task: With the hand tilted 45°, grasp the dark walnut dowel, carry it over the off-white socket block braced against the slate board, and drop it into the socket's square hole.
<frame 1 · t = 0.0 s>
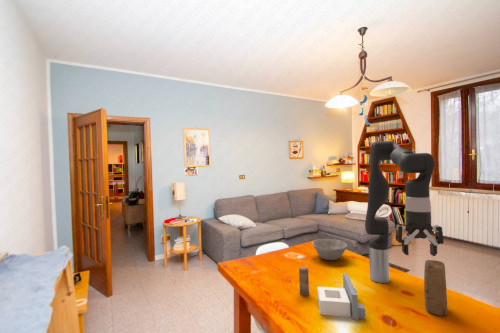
hand: (419, 254, 86), 29 cm above the table, tool pointing down, fingers open, 8 cm apart
block: (436, 310, 102), on the table
socket: (333, 307, 106), on the table
backstop: (350, 305, 107), on the table
ceramic bowl: (329, 258, 162), on the table
dowel: (304, 293, 118), on the table
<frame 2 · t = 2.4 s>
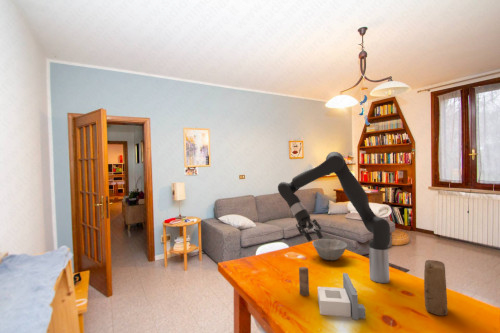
hand: (316, 239, 124), 25 cm above the table, tool tilted 40°, fingers open, 8 cm apart
nothing on the table moved.
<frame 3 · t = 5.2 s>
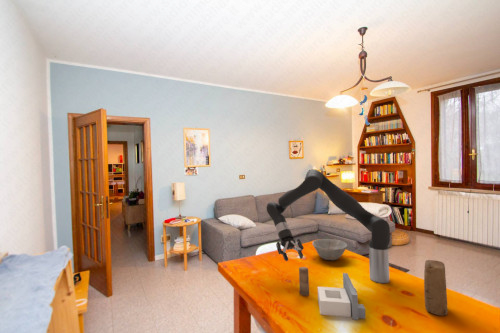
hand: (294, 259, 127), 14 cm above the table, tool tilted 45°, fingers open, 8 cm apart
nothing on the table moved.
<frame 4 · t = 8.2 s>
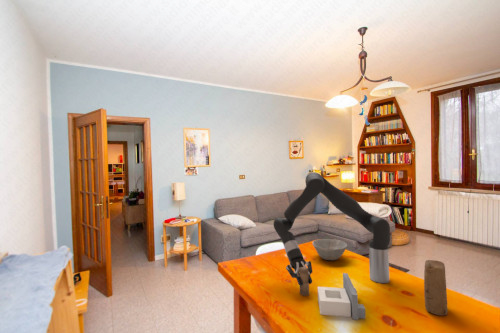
hand: (306, 284, 116), 5 cm above the table, tool tilted 45°, fingers closed on dowel, 4 cm apart
dowel: (304, 293, 118), on the table, touching gripper
everything else where it was.
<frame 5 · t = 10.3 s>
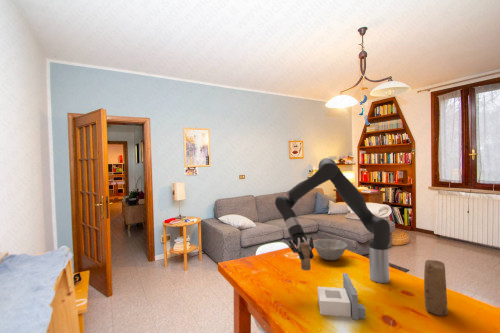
hand: (307, 258, 116), 18 cm above the table, tool tilted 45°, fingers closed on dowel, 4 cm apart
dowel: (305, 268, 117), point 12 cm above the table, touching gripper
everything else where it was.
when the fingers open (14 cm above the table, at t = 12.8 s): dowel drops 7 cm, resting on socket.
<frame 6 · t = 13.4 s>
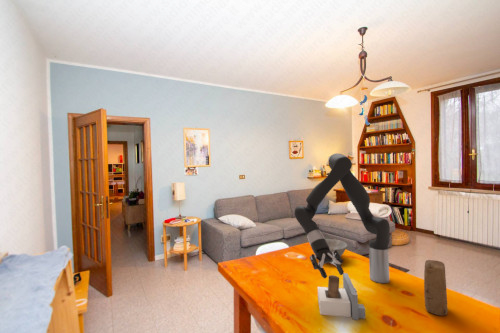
hand: (334, 275, 105), 14 cm above the table, tool tilted 45°, fingers open, 8 cm apart
socket: (333, 308, 106), on the table, touching dowel
dowel: (332, 305, 106), point 1 cm above the table, tilted 5°, touching socket
everything else where it was.
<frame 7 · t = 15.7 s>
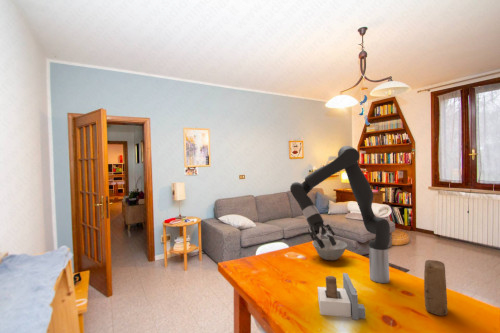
hand: (329, 246, 115), 24 cm above the table, tool tilted 40°, fingers open, 8 cm apart
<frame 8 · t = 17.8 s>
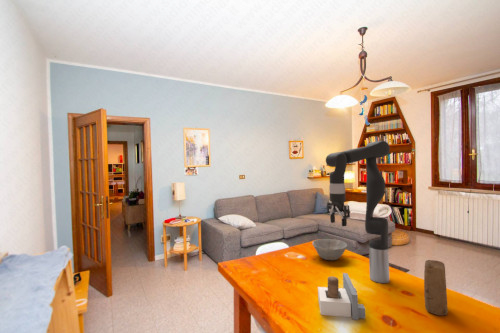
hand: (338, 224, 123), 32 cm above the table, tool pointing down, fingers open, 8 cm apart
at the end: dowel 0.3 cm off-centre on the socket, point 1.2 cm above the socket's base; dowel tilted 6°; socket moved 0.5 cm from its start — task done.
